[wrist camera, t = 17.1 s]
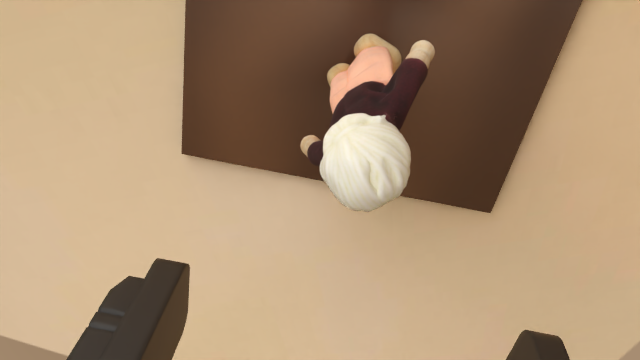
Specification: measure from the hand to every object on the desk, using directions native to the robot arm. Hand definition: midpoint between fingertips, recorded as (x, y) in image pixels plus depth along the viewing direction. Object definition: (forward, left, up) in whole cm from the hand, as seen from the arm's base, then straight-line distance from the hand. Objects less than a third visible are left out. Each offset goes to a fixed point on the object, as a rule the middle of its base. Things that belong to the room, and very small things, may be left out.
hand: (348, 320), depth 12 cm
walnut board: (0, 0, -19) cm, 19 cm away
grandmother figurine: (0, 0, -19) cm, 19 cm away
